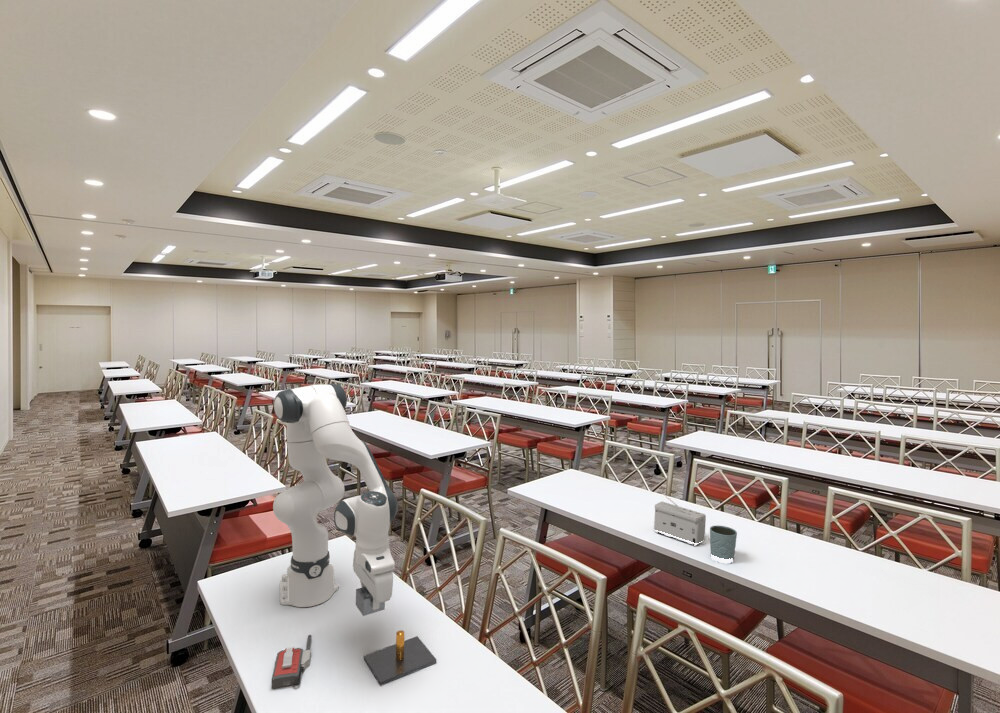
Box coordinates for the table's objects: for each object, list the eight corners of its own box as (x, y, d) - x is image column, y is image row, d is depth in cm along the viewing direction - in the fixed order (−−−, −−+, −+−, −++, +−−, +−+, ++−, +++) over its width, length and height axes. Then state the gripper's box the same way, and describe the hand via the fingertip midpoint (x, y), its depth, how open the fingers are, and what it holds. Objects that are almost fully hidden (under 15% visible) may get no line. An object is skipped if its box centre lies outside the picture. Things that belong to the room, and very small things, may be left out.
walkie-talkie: (307, 688, 126) (313, 639, 145) (307, 671, 125) (313, 624, 145) (269, 694, 123) (280, 644, 142) (269, 677, 123) (280, 629, 142)
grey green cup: (722, 566, 196) (724, 536, 195) (702, 555, 205) (704, 527, 204) (741, 562, 200) (742, 533, 199) (720, 551, 209) (722, 523, 208)
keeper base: (363, 659, 136) (363, 631, 136) (417, 639, 146) (417, 612, 145) (380, 686, 127) (380, 655, 126) (436, 662, 136) (436, 634, 135)
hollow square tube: (355, 604, 138) (356, 589, 137) (376, 598, 141) (377, 583, 141) (363, 616, 133) (363, 600, 132) (384, 609, 136) (385, 593, 136)
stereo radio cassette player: (705, 543, 217) (707, 498, 215) (696, 548, 211) (699, 502, 210) (660, 528, 232) (662, 485, 230) (651, 532, 226) (653, 489, 225)
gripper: (348, 540, 142) (346, 586, 144) (374, 572, 126) (372, 624, 127) (369, 535, 146) (368, 580, 147) (397, 566, 129) (395, 617, 130)
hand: (370, 601), depth 137 cm, fingers closed on hollow square tube, 6 cm apart
